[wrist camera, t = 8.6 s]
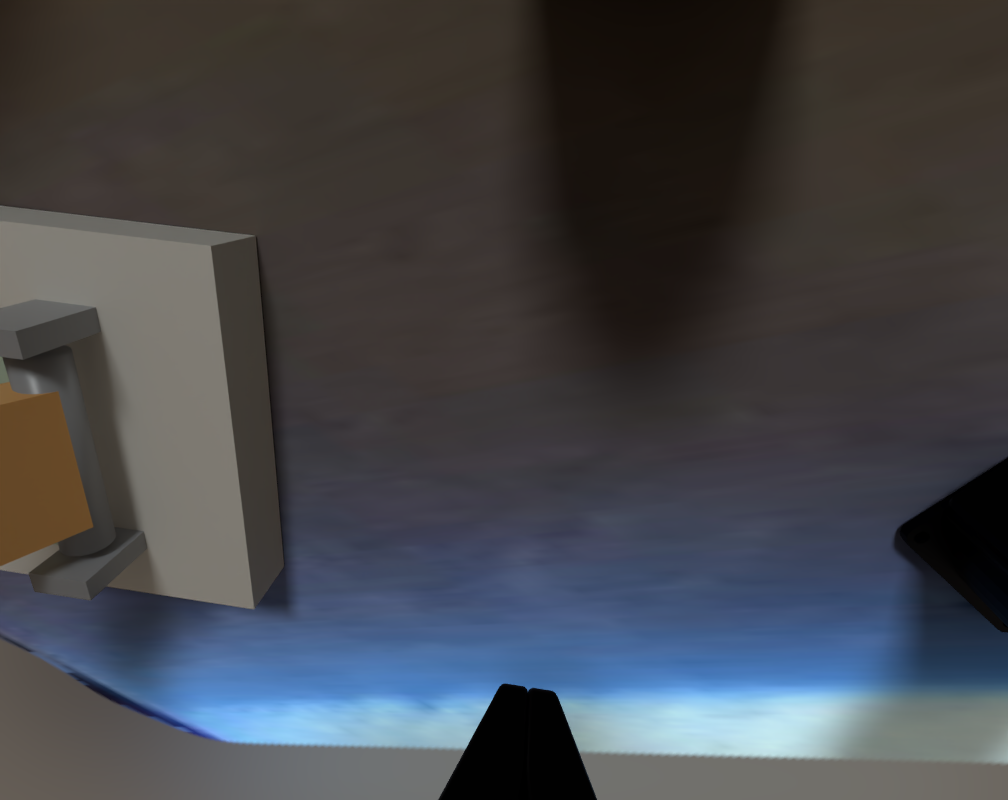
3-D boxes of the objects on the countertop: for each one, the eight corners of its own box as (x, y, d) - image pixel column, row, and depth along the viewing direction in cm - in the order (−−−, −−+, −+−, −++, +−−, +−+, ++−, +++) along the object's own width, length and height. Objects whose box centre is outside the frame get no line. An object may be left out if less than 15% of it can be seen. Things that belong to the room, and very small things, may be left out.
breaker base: (255, 235, 18) (144, 260, 13) (284, 566, 24) (213, 667, 19) (-55, 199, 18) (-269, 210, 14) (46, 530, 24) (-81, 619, 19)
